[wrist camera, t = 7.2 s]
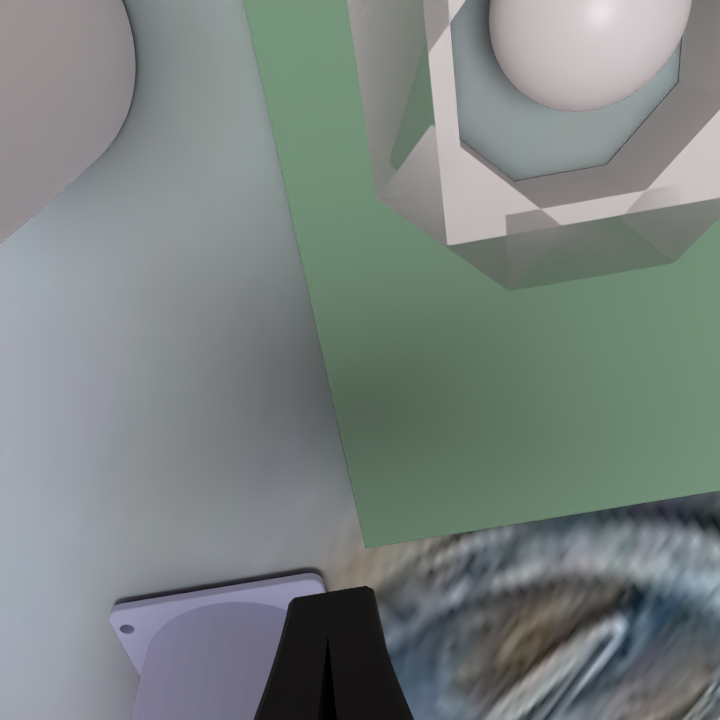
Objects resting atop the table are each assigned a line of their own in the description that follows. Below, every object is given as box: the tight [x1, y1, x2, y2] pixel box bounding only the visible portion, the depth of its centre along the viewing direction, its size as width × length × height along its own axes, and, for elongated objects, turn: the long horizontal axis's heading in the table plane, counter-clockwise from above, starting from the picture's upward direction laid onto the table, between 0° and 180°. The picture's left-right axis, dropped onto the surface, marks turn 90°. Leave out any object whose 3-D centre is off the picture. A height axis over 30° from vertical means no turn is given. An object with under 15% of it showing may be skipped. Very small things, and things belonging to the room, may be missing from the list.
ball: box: [489, 0, 692, 112], centre depth 14 cm, size 4×4×4 cm
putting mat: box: [244, 0, 720, 548], centre depth 17 cm, size 18×14×2 cm
